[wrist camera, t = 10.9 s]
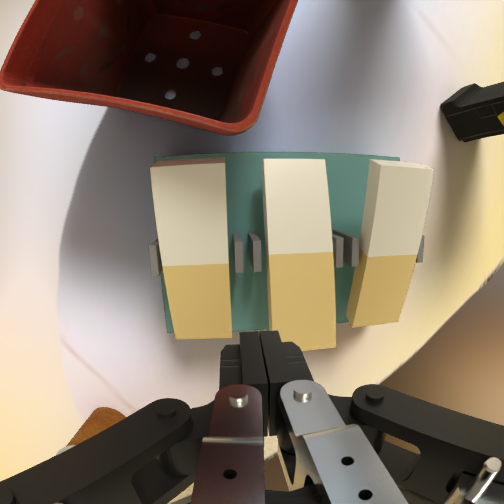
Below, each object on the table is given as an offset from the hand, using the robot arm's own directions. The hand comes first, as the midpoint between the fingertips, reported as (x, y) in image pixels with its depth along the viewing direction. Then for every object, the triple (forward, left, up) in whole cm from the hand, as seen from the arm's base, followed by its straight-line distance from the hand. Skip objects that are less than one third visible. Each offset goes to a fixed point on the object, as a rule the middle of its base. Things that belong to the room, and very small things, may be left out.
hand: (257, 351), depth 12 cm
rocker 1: (-1, -3, -14) cm, 14 cm away
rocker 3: (-1, +13, -13) cm, 18 cm away
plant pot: (-21, -5, -23) cm, 32 cm away
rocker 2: (-1, +5, -14) cm, 15 cm away
